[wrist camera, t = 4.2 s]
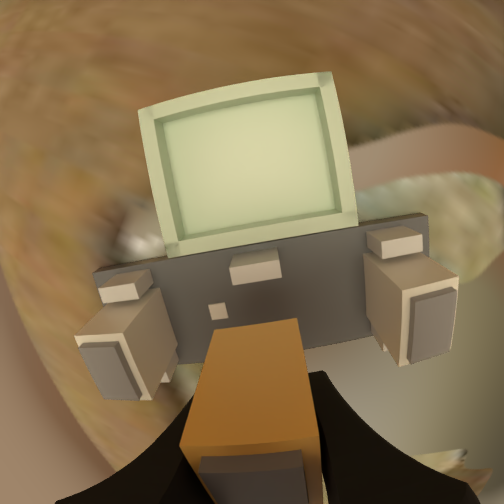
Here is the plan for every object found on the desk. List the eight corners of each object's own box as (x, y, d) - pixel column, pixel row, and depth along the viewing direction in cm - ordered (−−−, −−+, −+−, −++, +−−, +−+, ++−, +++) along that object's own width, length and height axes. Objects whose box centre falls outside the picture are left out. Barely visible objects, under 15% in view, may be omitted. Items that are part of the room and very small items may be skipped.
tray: (348, 219, 17) (358, 225, 15) (177, 248, 18) (168, 258, 16) (323, 81, 15) (331, 71, 13) (150, 115, 16) (137, 110, 14)
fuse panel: (420, 315, 18) (471, 371, 12) (132, 359, 20) (93, 422, 14) (420, 212, 17) (489, 238, 10) (99, 268, 18) (36, 312, 12)
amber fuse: (307, 398, 11) (325, 521, 6) (237, 407, 12) (222, 528, 6) (296, 317, 11) (322, 453, 5) (214, 329, 11) (174, 462, 5)
